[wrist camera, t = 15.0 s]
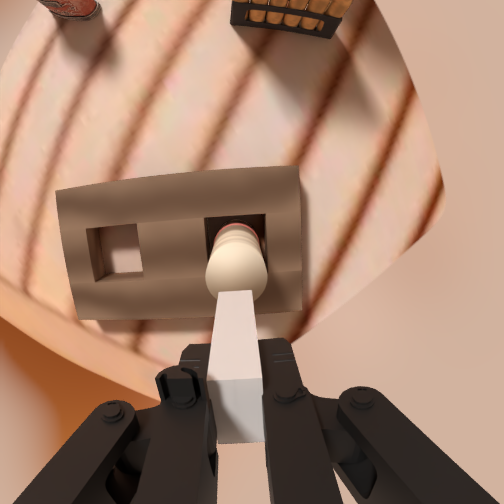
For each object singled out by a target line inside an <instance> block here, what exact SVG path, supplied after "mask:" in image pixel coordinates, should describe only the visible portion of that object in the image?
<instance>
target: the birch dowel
mask: <svg viewBox="0 0 504 504" xmlns="http://www.w3.org/2000/svg"><path fill="white" fill-rule="evenodd" d="M205 278H206V284H207V287H208V289H209V291H210V293H211V294H212V295H213V297H215V298H216V299H217V300H218V293H219V292H226V291H242V290H252V297H253V301H255V300H256V299H257V298H258V297H260V295H261V294H262V293H263V291H264V289H265V287H266V284H267V270H266V266H265V263H264V260H263V256H262V253H261V249H260V243H259V239H258V236H257V234H256V233H255V230H254V229H253V227H252V226H251V225H250V224H249V223H247V222H245V221H243V220H231V221H228V222H226V223H225V224H223V225H222V227H221V228H220V229H219V231H218V233H217V235H216V237H215V240H214V247H213V250H212V253H211V256H210V259H209V263H208V266H207V269H206V275H205Z"/></svg>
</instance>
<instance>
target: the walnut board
mask: <svg viewBox="0 0 504 504" xmlns="http://www.w3.org/2000/svg"><path fill="white" fill-rule="evenodd" d="M55 193H56V202H57V211H58V219H59V226H60V233H61V239H62V246H63V251H64V257H65V262H66V267H67V272H68V277H69V282H70V287H71V291H72V295H73V299H74V304H75V308H76V311H77V315H78V319H79V320H141V319H177V318H201V317H215V314H216V307H217V299H216V298H215V297H213V295H212V294H211V293H210V291H209V289H208V287H207V284H206V278H205V275H206V269H207V266H208V263H209V259H210V246H209V235H208V223H207V217H219V216H234V215H249V214H263V218H264V238H265V259H266V264H265V266H266V270H267V284H266V287H265V289H264V291H263V293H262V294H261V295H260V297H258V298H257V299H256V300H255V301H253V305H254V314H266V313H278V312H290V311H301V310H302V243H301V208H300V182H299V166H273V167H252V168H236V169H221V170H209V171H197V172H186V173H176V174H167V175H158V176H149V177H141V178H133V179H126V180H119V181H112V182H105V183H98V184H92V185H86V186H80V187H74V188H68V189H63V190H57V191H55ZM135 223H137V231H138V239H139V246H140V254H141V261H142V267H143V272H127V273H109V274H105V268H104V263H103V257H102V250H101V244H100V237H99V230H98V227H105V226H115V225H125V224H135Z"/></svg>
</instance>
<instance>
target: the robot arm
mask: <svg viewBox="0 0 504 504" xmlns="http://www.w3.org/2000/svg"><path fill="white" fill-rule="evenodd" d="M155 380H156V384H157V388H158V391H159V395H160V398H161V403H160V405H158V406H156V407H152V408H148V409H143V410H138V411H135V410H134V408H133V406H132V405H131V404H129V403H127V402H125V401H119V400H113V401H107V402H105V403H103V404H100V405H99V406H98V407H97V408H95V409H94V411H93V412H92V413H91V414H90V415H89V416H88V417H87V419H86V420H85V421H84V422H83V423H82V424H81V426H79V428H78V429H77V430H76V431H75V432H74V433H73V434H72V436H71V437H70V438H69V439H68V440H67V441H66V443H65V444H64V445H63V446H62V447H61V448H60V449H59V451H58V452H57V453H56V454H55V455H54V456H53V458H52V459H51V460H50V461H49V462H48V463H47V464H46V466H45V467H44V468H43V469H42V470H41V471H40V472H39V474H38V475H37V476H36V477H35V478H34V479H33V481H32V482H31V483H30V484H29V485H28V486H27V488H26V489H25V490H24V491H23V492H22V493H21V495H20V496H19V497H18V498H17V499H16V501H15V502H14V503H13V504H217V480H218V453H217V448H216V443H217V440H218V444H232V443H233V444H234V443H253V442H265V452H266V467H267V473H268V482H269V491H270V501H271V504H343V501H342V498H341V494H340V491H339V487H338V484H337V480H336V477H335V474H334V471H333V468H334V470H335V471H336V473H337V474H338V476H339V477H340V479H341V480H342V482H343V483H344V484H345V486H346V487H347V489H348V490H349V491H350V493H351V494H352V496H353V497H354V499H355V500H356V502H357V503H358V504H499V503H498V502H497V501H496V500H495V499H494V498H493V497H492V496H491V495H490V494H489V493H487V492H486V491H485V490H484V489H483V488H482V487H481V486H480V485H479V484H478V483H476V481H474V480H473V479H472V478H471V477H470V476H469V475H468V474H467V473H466V472H465V471H464V470H463V469H461V468H460V467H459V466H458V465H457V464H456V463H455V462H454V461H453V460H452V459H451V458H450V457H449V456H447V455H446V454H445V453H444V452H443V451H442V450H441V449H440V448H439V447H438V446H437V445H436V444H435V443H433V442H432V441H431V440H430V439H429V438H428V437H427V436H426V435H425V434H424V433H423V432H422V431H421V430H420V429H419V428H418V427H416V426H415V425H414V424H413V423H412V422H411V421H410V420H409V419H408V418H407V417H406V416H405V415H404V414H403V413H402V412H401V411H399V410H398V408H396V407H395V406H394V405H393V404H392V403H391V402H390V401H389V400H388V399H387V398H386V397H385V396H384V395H383V394H382V393H380V392H379V391H377V390H376V389H373V388H370V387H361V386H358V387H353V388H349V389H347V390H346V391H344V392H343V393H342V394H341V395H340V397H339V399H330V398H322V397H318V396H315V395H313V394H311V393H310V392H309V391H308V389H307V388H306V387H304V386H303V384H302V380H301V377H300V373H299V370H298V367H297V364H296V360H295V357H294V354H293V350H292V347H291V344H290V343H289V342H288V341H287V340H285V339H284V338H274V339H261V340H258V339H257V331H256V322H255V314H254V305H253V297H252V290H242V291H226V292H219V293H218V300H217V307H216V314H215V321H214V328H213V335H212V342H211V343H210V344H189V345H188V346H187V347H186V348H185V349H184V350H183V351H182V354H181V358H180V361H179V365H177V366H172V367H169V368H166V369H164V370H162V371H161V372H159V373H158V375H157V376H156V378H155Z"/></svg>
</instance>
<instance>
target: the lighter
mask: <svg viewBox="0 0 504 504" xmlns="http://www.w3.org/2000/svg"><path fill="white" fill-rule="evenodd" d="M38 1H39V2H40V3H41V4H43V5H44V6H45V7H47V8H48V9H49V12H51V13H52V14H53V15H55V16H57V17H60V18H63V19H67V20H76V21H78V20H90V19H92V18H94V17H95V16H96V15H97V14H98V12H99V11H100V4H99V3H98V2H97V1H96V0H38Z"/></svg>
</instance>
